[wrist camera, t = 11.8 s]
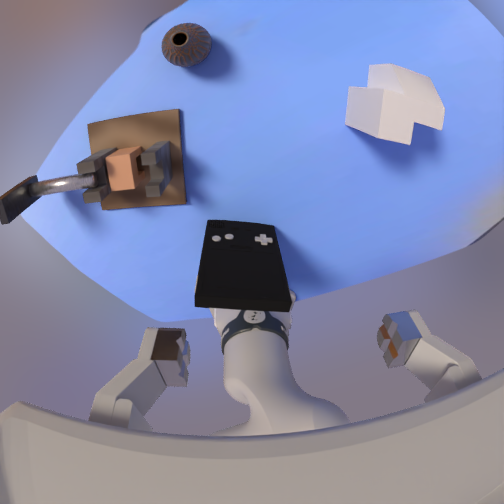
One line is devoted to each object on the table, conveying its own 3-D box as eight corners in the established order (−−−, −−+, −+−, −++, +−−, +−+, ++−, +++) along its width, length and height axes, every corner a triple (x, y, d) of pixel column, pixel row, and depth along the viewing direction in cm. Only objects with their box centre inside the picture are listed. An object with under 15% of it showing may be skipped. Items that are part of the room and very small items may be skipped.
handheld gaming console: (275, 222, 50) (294, 298, 33) (270, 244, 53) (287, 324, 36) (206, 216, 49) (193, 292, 32) (205, 238, 51) (193, 319, 34)
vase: (159, 54, 33) (142, 48, 26) (187, 21, 30) (176, 7, 23) (193, 76, 36) (183, 73, 28) (222, 43, 33) (219, 32, 26)
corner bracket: (344, 124, 41) (377, 138, 31) (350, 60, 35) (386, 55, 25) (398, 134, 42) (437, 152, 32) (405, 75, 36) (448, 79, 25)
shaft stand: (186, 201, 47) (176, 227, 39) (104, 207, 46) (82, 233, 38) (179, 108, 38) (164, 114, 30) (90, 123, 38) (60, 134, 30)
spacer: (145, 177, 43) (134, 188, 38) (123, 179, 43) (111, 191, 38) (140, 146, 40) (129, 153, 35) (118, 149, 40) (105, 157, 35)
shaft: (102, 187, 38) (72, 215, 30) (34, 197, 38) (1, 224, 29) (97, 162, 36) (64, 185, 28) (29, 176, 35) (-6, 200, 27)
